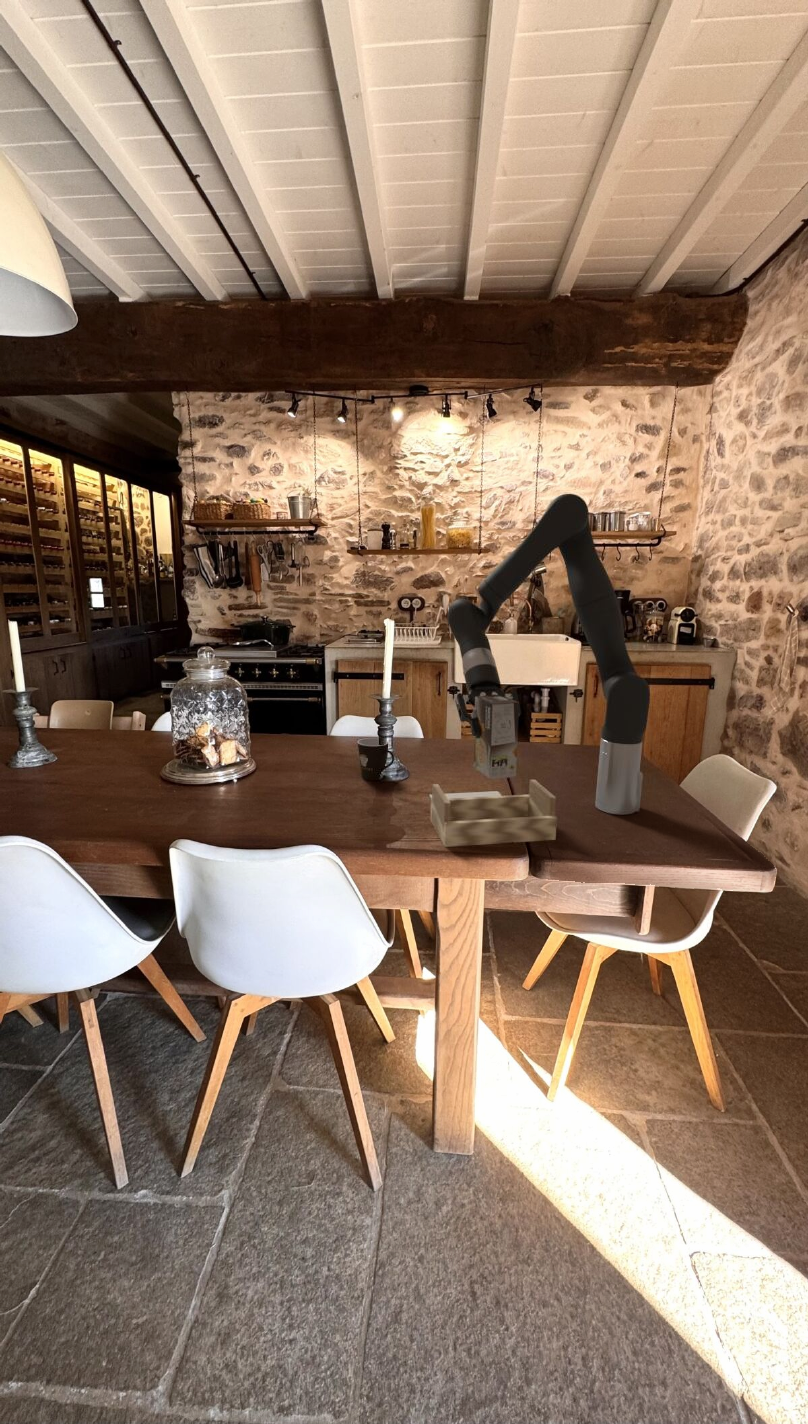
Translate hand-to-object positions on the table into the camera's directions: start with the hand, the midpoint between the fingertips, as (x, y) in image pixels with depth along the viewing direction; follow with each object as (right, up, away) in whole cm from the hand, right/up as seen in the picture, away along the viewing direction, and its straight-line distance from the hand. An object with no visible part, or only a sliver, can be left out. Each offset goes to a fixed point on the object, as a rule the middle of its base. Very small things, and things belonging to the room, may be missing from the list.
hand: (495, 735), depth 124 cm
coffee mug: (-27, -13, +38) cm, 48 cm away
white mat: (-3, -17, +20) cm, 27 cm away
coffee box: (0, -8, +2) cm, 8 cm away
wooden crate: (0, -21, +4) cm, 21 cm away
